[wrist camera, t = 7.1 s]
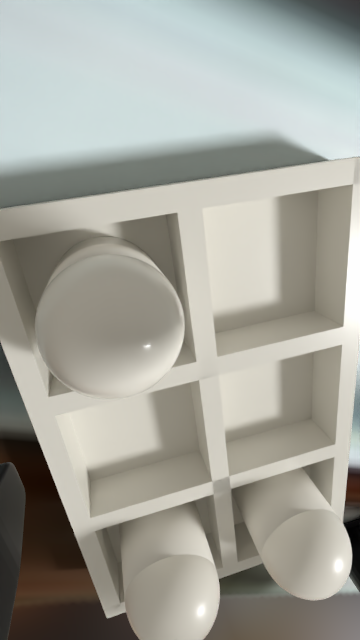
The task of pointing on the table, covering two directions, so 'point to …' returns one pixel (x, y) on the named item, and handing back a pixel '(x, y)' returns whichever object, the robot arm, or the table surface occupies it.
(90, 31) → the table surface
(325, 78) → the table surface
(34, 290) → the carton
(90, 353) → the egg
